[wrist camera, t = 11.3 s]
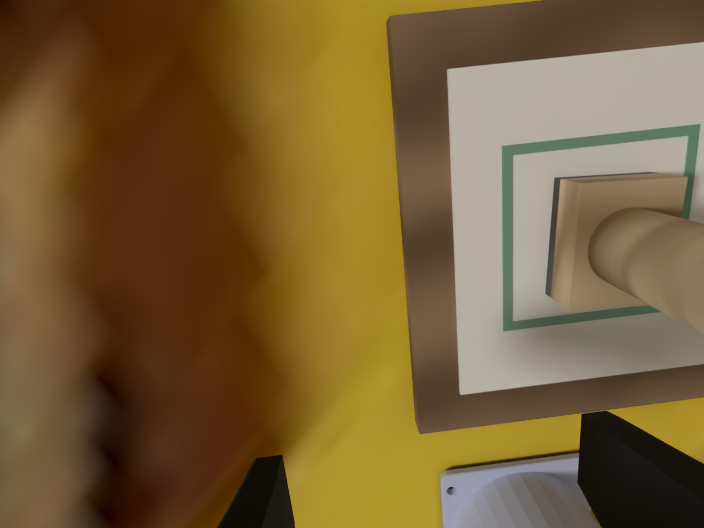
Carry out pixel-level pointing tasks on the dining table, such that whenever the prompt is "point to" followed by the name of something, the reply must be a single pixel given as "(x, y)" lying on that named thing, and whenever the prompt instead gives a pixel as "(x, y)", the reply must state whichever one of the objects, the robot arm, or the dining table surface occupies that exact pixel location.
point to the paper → (536, 206)
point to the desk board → (436, 191)
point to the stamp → (626, 246)
